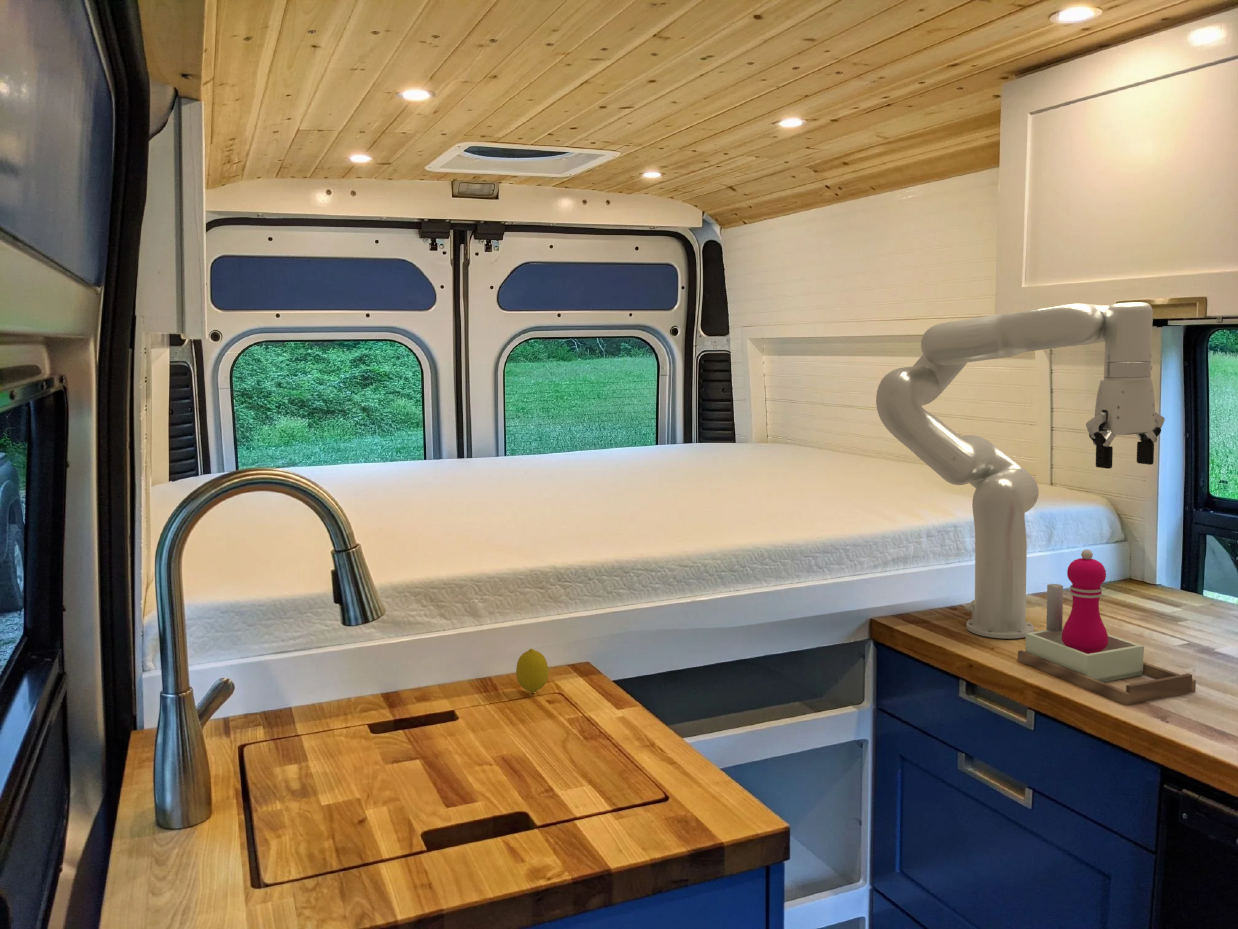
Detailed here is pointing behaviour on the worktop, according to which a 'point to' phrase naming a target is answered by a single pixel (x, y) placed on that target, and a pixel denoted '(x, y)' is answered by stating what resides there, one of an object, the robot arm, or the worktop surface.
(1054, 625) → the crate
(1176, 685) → the bay
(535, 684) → the lemon
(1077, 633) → the pepper mill
